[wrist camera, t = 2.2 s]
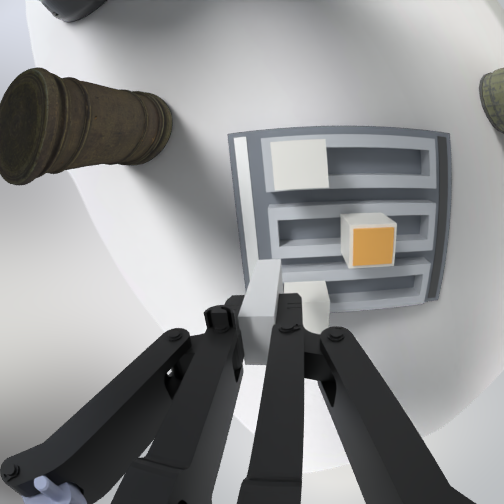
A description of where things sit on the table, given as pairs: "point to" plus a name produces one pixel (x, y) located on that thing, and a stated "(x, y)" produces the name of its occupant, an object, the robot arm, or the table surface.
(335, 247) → the panel
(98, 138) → the container
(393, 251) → the handle
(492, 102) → the thermos
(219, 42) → the table surface
